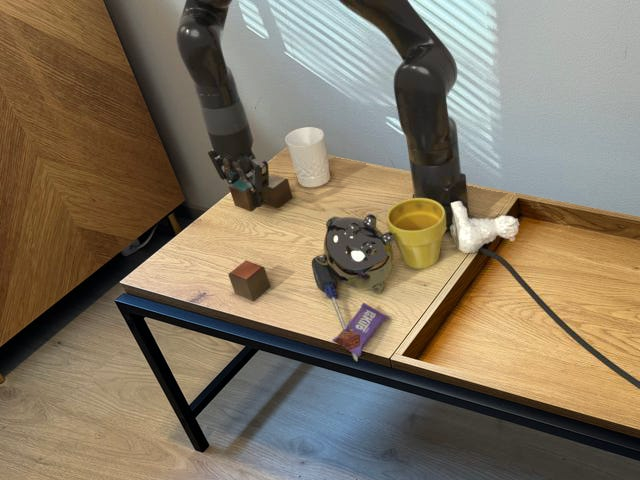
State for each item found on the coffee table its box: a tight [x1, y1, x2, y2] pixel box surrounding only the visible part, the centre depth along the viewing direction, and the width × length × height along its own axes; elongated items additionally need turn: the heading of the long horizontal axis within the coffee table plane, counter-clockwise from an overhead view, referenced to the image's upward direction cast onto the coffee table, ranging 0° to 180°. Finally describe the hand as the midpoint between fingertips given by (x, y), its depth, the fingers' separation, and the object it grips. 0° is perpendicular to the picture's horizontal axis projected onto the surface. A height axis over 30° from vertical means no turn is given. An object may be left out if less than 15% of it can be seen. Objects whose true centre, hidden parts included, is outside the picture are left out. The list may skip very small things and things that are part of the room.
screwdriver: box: [311, 256, 359, 362], centre depth 136 cm, size 26×4×4 cm
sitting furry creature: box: [449, 201, 520, 254], centre depth 147 cm, size 10×9×12 cm
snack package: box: [331, 302, 389, 357], centre depth 131 cm, size 12×2×5 cm
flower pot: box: [386, 197, 447, 269], centre depth 144 cm, size 10×10×10 cm
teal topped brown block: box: [228, 177, 267, 213], centre depth 157 cm, size 4×4×5 cm
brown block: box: [262, 173, 294, 210], centre depth 163 cm, size 4×4×5 cm
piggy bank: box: [315, 213, 396, 295], centre depth 139 cm, size 11×15×12 cm
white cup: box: [284, 126, 331, 188], centre depth 166 cm, size 8×8×10 cm
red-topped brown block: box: [228, 259, 271, 302], centre depth 142 cm, size 4×4×5 cm
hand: (250, 201), depth 158 cm, fingers closed on teal topped brown block, 4 cm apart
